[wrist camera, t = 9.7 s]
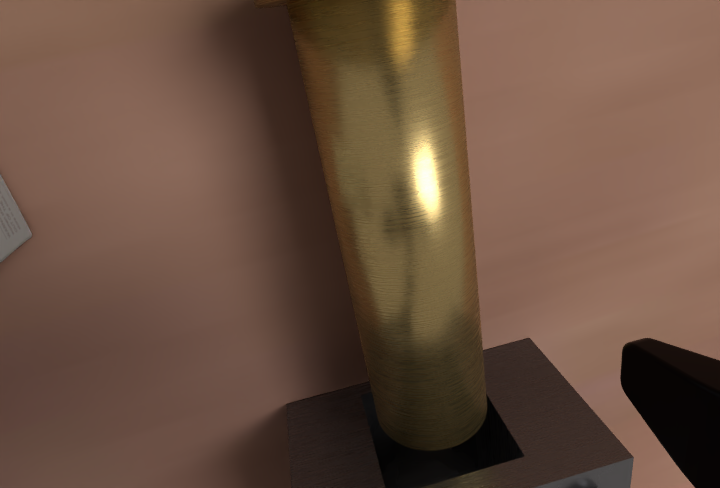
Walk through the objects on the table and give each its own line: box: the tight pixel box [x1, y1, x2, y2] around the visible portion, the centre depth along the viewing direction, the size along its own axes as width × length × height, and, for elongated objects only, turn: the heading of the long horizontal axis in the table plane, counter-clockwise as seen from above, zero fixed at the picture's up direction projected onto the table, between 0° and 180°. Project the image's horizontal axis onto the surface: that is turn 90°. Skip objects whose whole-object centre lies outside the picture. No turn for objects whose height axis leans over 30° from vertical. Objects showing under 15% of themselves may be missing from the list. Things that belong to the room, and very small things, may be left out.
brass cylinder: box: [254, 0, 487, 451], centre depth 15 cm, size 16×6×6 cm, turn 10°
